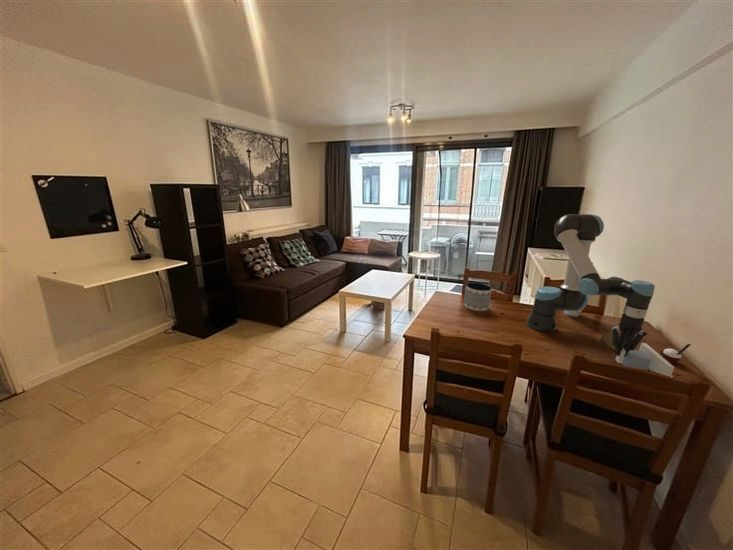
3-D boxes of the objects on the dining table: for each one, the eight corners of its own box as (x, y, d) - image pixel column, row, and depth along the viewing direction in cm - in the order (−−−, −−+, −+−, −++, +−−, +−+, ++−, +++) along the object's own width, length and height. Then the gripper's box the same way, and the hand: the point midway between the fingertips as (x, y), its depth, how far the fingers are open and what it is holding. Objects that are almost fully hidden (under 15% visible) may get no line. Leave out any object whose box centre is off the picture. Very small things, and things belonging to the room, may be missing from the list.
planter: (461, 301, 210) (464, 281, 206) (485, 303, 208) (488, 283, 204) (465, 310, 195) (468, 289, 191) (491, 312, 193) (494, 291, 189)
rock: (594, 334, 163) (599, 340, 154) (608, 324, 160) (614, 330, 151) (610, 349, 161) (617, 356, 152) (626, 340, 158) (633, 346, 149)
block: (628, 369, 137) (632, 356, 134) (620, 361, 143) (624, 348, 141) (646, 372, 135) (651, 359, 133) (637, 364, 141) (642, 351, 139)
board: (662, 382, 128) (668, 366, 126) (636, 357, 147) (641, 342, 144) (679, 385, 127) (686, 369, 124) (651, 359, 145) (656, 345, 143)
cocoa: (656, 356, 149) (662, 334, 146) (671, 358, 148) (678, 335, 145) (669, 366, 140) (676, 342, 137) (685, 368, 139) (693, 344, 136)
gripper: (620, 316, 131) (606, 363, 138) (656, 321, 128) (639, 368, 135) (612, 310, 138) (598, 355, 145) (646, 314, 135) (630, 359, 142)
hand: (618, 361), depth 140 cm, fingers closed
